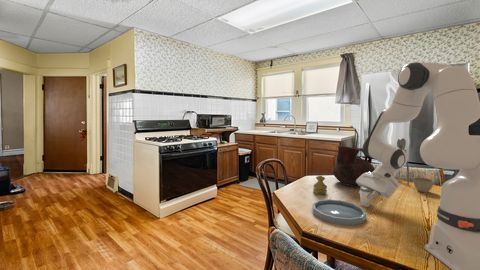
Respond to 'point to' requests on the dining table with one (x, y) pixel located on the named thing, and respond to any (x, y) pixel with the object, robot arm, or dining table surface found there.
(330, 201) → the dish
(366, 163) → the jug
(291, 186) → the dining table surface
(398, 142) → the juicer
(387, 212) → the dining table surface
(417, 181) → the flower pot
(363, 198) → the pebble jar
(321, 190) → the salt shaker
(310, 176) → the dining table surface
